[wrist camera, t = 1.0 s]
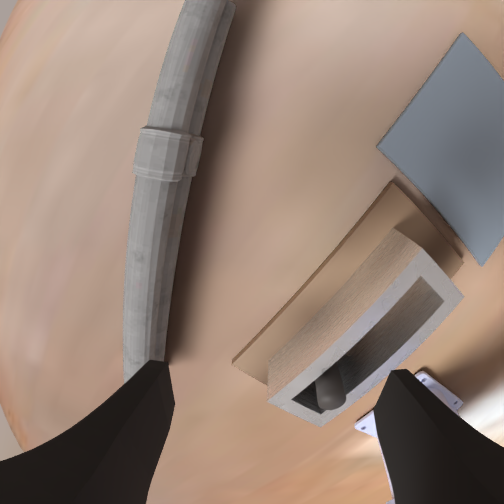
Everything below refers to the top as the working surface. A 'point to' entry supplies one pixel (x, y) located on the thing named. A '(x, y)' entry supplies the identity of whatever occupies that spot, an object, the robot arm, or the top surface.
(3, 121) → the top surface
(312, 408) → the steel link
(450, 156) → the rubber mat
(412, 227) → the post stand
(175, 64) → the metal rod assembly
